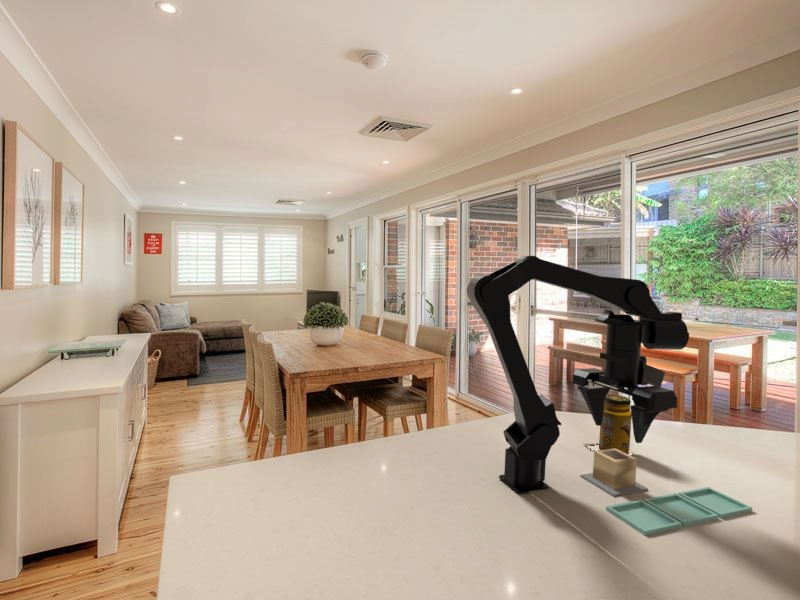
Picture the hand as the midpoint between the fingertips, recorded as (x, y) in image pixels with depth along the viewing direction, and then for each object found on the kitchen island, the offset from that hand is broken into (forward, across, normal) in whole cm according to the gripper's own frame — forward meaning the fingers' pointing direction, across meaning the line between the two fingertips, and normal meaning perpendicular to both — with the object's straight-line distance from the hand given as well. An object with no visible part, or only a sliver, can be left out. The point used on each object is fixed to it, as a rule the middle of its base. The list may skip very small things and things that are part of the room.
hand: (617, 433), depth 85 cm
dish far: (+10, -11, -11) cm, 18 cm away
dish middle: (+10, -11, -3) cm, 15 cm away
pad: (+10, 0, 0) cm, 10 cm away
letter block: (+9, 0, 0) cm, 9 cm away
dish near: (+10, -11, +5) cm, 15 cm away
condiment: (+10, +13, -12) cm, 20 cm away
